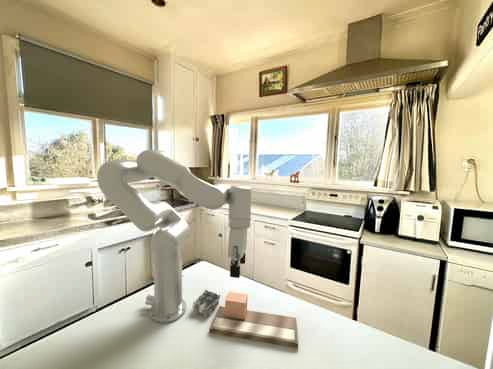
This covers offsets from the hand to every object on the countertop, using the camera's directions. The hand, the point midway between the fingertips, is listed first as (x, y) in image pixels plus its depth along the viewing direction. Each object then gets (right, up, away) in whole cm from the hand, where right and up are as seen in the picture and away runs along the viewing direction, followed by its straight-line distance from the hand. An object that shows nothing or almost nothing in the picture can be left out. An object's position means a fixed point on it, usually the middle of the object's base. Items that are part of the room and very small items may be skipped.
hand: (238, 269), depth 74 cm
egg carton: (-12, -17, +7) cm, 22 cm away
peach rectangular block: (-1, -16, +2) cm, 16 cm away
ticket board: (+6, -18, -2) cm, 19 cm away
